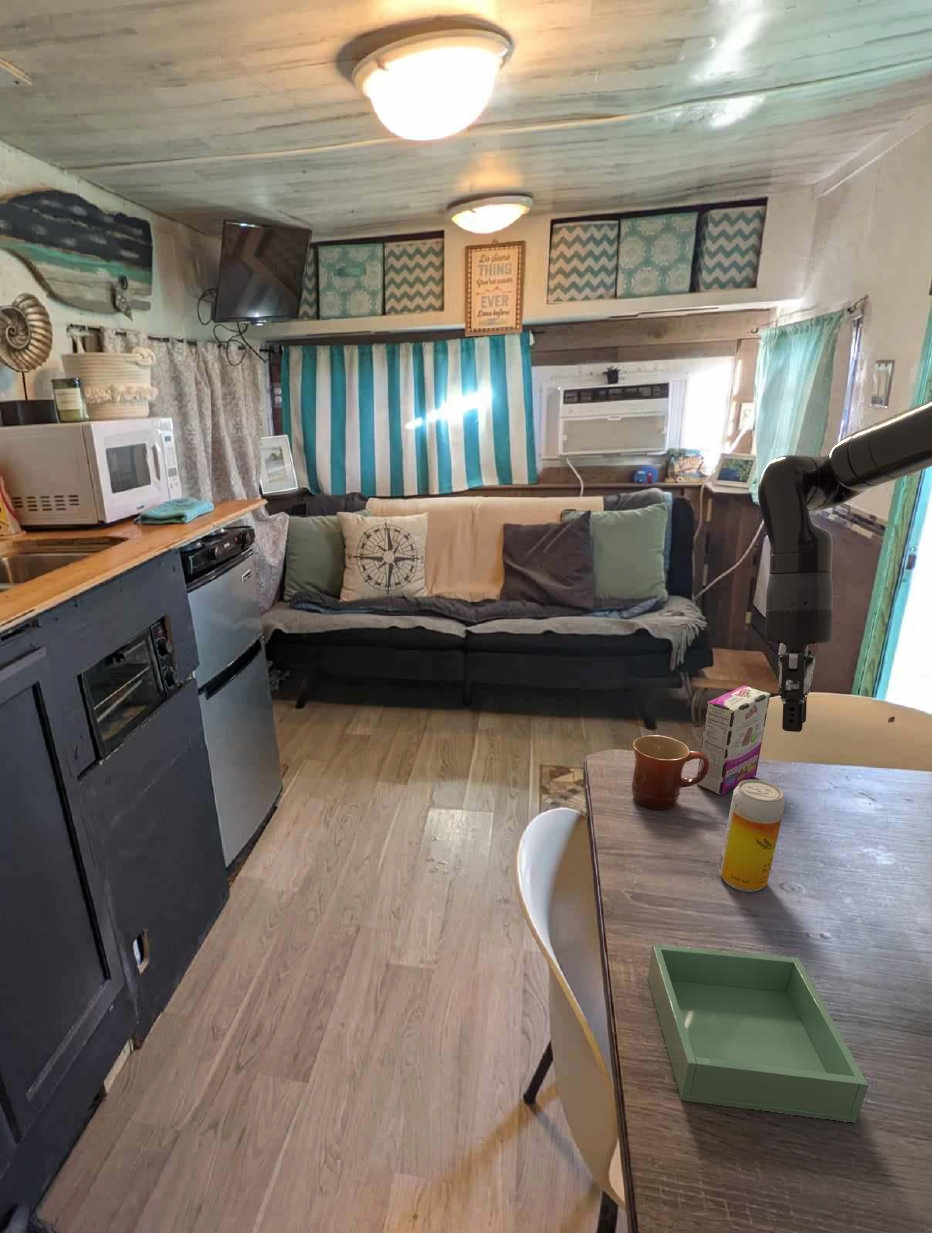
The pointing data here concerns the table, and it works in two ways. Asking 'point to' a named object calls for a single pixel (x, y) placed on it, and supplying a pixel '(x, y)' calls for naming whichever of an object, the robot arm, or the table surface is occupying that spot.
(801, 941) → the table surface
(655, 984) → the green serving tray
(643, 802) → the mug
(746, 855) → the beer can
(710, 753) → the candy bar box
